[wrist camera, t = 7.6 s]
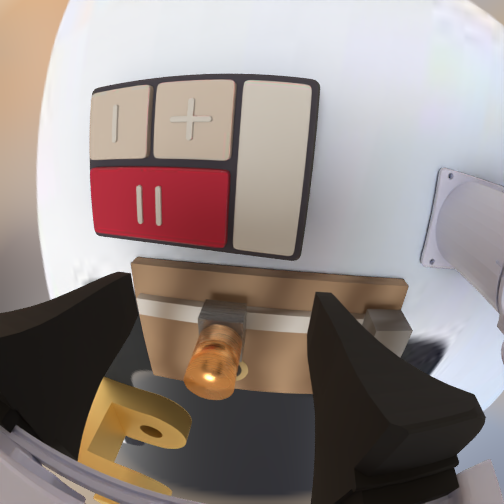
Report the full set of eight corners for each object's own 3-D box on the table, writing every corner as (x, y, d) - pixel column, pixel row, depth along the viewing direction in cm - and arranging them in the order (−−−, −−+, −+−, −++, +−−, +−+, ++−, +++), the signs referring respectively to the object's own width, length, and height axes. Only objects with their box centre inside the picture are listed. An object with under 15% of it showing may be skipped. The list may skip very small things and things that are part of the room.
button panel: (84, 88, 14) (322, 76, 12) (118, 92, 18) (316, 90, 16) (88, 239, 18) (300, 268, 16) (118, 221, 22) (299, 242, 20)
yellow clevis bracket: (191, 403, 29) (157, 519, 15) (192, 435, 33) (167, 529, 18) (58, 356, 30) (1, 436, 15) (75, 394, 33) (33, 466, 19)
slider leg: (248, 298, 20) (234, 368, 14) (244, 375, 24) (233, 440, 17) (207, 294, 21) (180, 360, 14) (211, 371, 24) (194, 434, 18)
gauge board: (403, 279, 20) (426, 311, 16) (362, 384, 26) (370, 419, 21) (137, 257, 22) (109, 284, 18) (157, 367, 27) (142, 399, 23)
